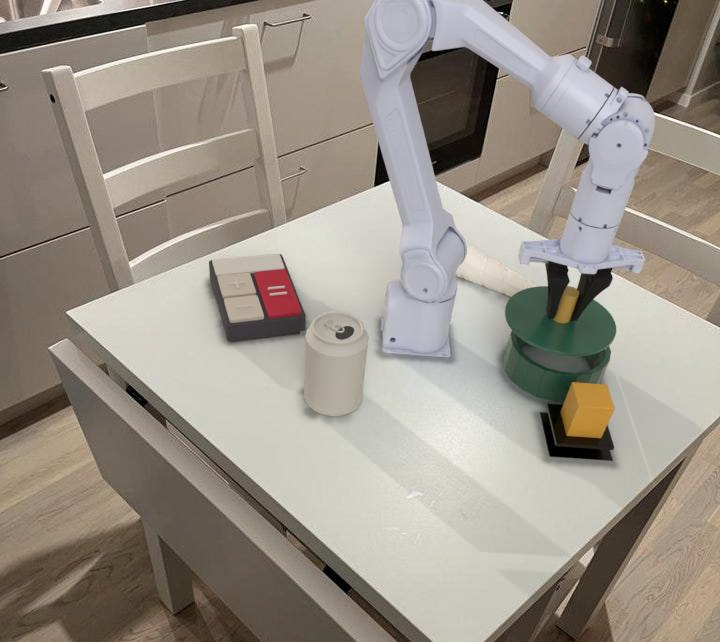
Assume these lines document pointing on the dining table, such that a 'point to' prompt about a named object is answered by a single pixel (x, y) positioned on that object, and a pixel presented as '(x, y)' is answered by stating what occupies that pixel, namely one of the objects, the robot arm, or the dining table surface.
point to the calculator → (256, 297)
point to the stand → (573, 439)
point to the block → (587, 410)
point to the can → (335, 363)
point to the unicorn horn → (490, 274)
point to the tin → (549, 372)
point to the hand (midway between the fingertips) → (561, 315)
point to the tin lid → (559, 323)
